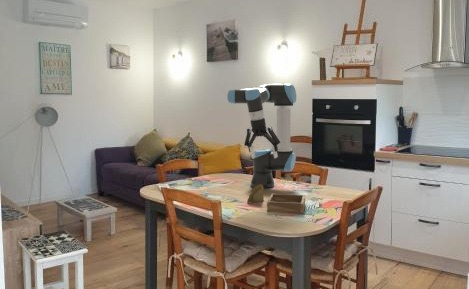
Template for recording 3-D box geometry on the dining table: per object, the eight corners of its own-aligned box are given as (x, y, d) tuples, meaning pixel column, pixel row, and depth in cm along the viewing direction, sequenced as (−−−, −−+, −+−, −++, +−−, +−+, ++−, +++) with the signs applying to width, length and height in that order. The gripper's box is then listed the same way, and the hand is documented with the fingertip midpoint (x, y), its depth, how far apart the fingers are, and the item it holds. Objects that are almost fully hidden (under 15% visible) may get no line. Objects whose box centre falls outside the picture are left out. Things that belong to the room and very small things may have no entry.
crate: (271, 202, 232) (271, 193, 231) (305, 204, 228) (305, 195, 227) (267, 211, 214) (267, 201, 214) (303, 213, 211) (303, 203, 210)
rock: (247, 200, 227) (266, 197, 228) (244, 186, 231) (262, 183, 232) (247, 208, 237) (264, 205, 238) (244, 194, 241) (261, 191, 242)
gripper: (233, 122, 223) (241, 160, 228) (275, 118, 209) (282, 159, 214) (240, 118, 229) (247, 155, 234) (282, 115, 215) (288, 154, 220)
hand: (264, 157), depth 224 cm, fingers open, 13 cm apart
